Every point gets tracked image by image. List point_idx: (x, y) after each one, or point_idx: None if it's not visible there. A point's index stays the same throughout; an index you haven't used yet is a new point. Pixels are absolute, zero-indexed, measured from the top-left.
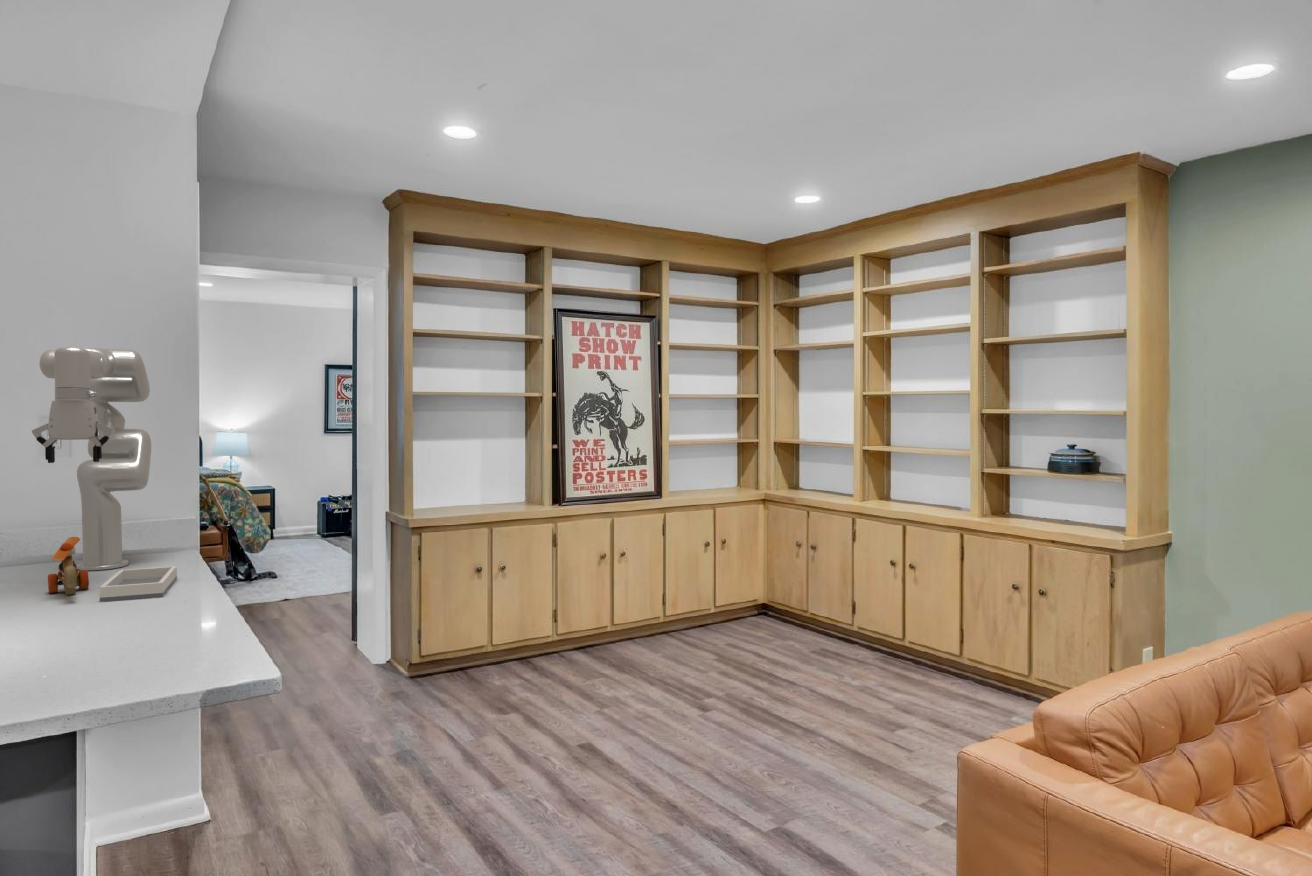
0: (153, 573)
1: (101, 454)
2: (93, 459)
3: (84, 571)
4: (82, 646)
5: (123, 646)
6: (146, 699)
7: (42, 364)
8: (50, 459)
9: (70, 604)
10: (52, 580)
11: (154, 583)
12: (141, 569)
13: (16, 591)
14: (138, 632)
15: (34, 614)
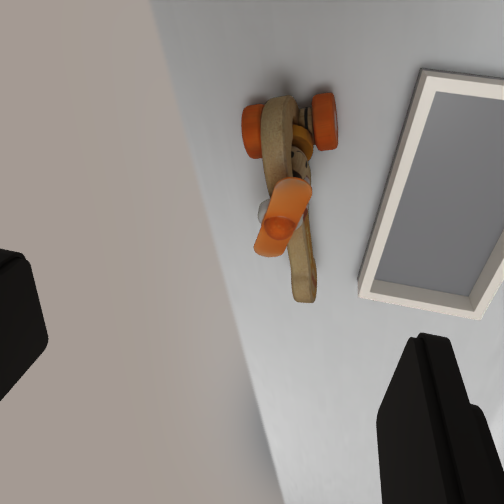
0: None
1: (490, 444)
2: (380, 435)
3: (327, 139)
4: (333, 469)
5: (371, 488)
6: None
7: None
8: (26, 362)
9: None
10: (257, 157)
11: (463, 316)
12: (488, 97)
13: (171, 46)
14: None
15: (261, 310)
